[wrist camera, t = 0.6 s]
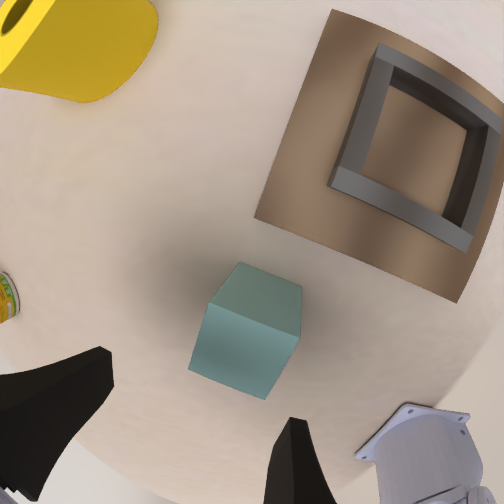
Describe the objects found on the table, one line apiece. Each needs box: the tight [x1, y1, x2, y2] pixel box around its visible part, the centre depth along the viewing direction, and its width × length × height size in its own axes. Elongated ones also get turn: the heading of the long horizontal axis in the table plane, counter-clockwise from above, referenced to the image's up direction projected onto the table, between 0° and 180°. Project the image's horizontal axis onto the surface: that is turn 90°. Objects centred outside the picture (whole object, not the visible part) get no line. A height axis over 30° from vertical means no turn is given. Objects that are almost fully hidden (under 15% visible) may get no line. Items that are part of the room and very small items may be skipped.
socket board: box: [254, 9, 504, 304], centre depth 12 cm, size 14×14×4 cm
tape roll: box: [0, 0, 158, 103], centre depth 10 cm, size 10×10×9 cm
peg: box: [188, 262, 302, 400], centre depth 15 cm, size 4×4×6 cm
